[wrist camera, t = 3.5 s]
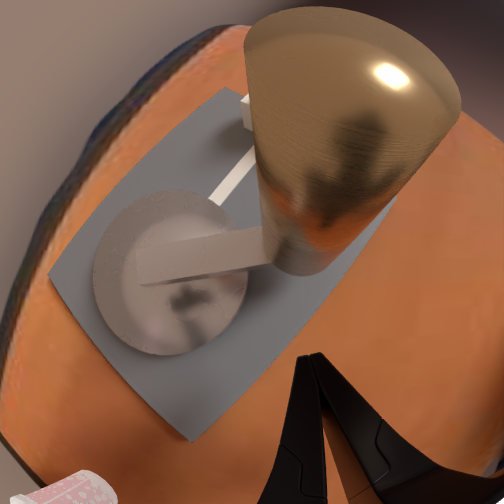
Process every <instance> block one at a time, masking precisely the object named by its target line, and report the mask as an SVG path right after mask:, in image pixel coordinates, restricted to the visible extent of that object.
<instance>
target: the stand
mask: <svg viewBox="0 0 504 504" xmlns="http://www.w3.org/2000/svg"><path fill="white" fill-rule="evenodd" d="M166 190H183V191H189V192H193V193H197V194H199V195H202V196H204V197H206V198H208V199H210V200H212V201H213V202H215V203H216V204H217V205H219V206H220V207H221V208H222V209H223V210H224V211H225V212H226V213H227V214H228V215H229V216H230V218H231V219H232V220H233V222H234V223H235V225H236V227H237V229H238V230H242V229H247V228H253V227H259V226H262V225H261V214H260V203H259V192H258V181H257V171H256V161H255V150H254V140H253V130H252V121H251V111H250V101H249V93H248V94H247V95H246V96H245V97H244V96H242V95H240V94H238V93H236V92H234V91H232V90H230V89H228V88H226V87H224V88H223V89H222V90H220V91H219V92H218V93H216V94H215V95H214V96H213V97H211V98H210V99H209V100H207V101H206V102H205V103H204V104H202V105H201V106H200V107H199V108H197V109H196V110H195V111H194V112H193V113H191V114H190V115H189V116H188V117H187V118H185V119H184V120H183V121H182V122H181V123H180V124H179V125H177V126H176V127H175V128H174V129H173V130H172V131H171V132H169V133H168V134H167V135H166V136H165V137H164V138H163V139H162V140H161V141H160V142H159V143H158V144H157V145H155V146H154V147H153V148H152V149H151V150H150V151H149V152H148V153H147V154H146V155H145V156H144V157H143V158H142V159H141V160H140V161H139V162H138V163H137V164H136V165H135V166H134V167H133V168H132V169H131V170H130V171H129V172H128V173H127V175H126V176H125V177H124V178H123V179H122V180H121V181H120V182H119V183H118V184H117V185H116V186H115V188H114V189H113V190H112V191H111V192H110V193H109V194H108V195H107V197H106V198H105V199H104V200H103V201H102V202H101V204H100V205H99V206H98V207H97V208H96V209H95V211H94V212H93V213H92V214H91V216H90V217H89V218H88V219H87V221H86V222H85V223H84V224H83V226H82V227H81V228H80V229H79V231H78V232H77V233H76V235H75V236H74V237H73V239H72V240H71V241H70V243H69V244H68V245H67V247H66V248H65V250H64V251H63V252H62V254H61V255H60V257H59V258H58V259H57V261H56V262H55V264H54V265H53V267H52V268H51V270H50V271H49V273H48V276H49V278H50V279H51V281H52V283H53V284H54V286H55V288H56V289H57V291H58V292H59V294H60V296H61V297H62V299H63V300H64V302H65V303H66V305H67V306H68V308H69V309H70V311H71V312H72V314H73V315H74V317H75V318H76V320H77V321H78V322H79V324H80V325H81V327H82V328H83V329H84V331H85V332H86V333H87V335H88V336H89V337H90V339H91V340H92V341H93V343H94V344H95V345H96V346H97V348H98V349H99V350H100V351H101V353H102V354H103V355H104V356H105V358H106V359H107V360H108V361H109V362H110V364H111V365H112V366H113V367H114V368H115V369H116V370H117V372H118V373H119V374H120V375H121V376H122V377H123V378H124V379H125V381H126V382H127V383H128V384H129V385H130V386H131V387H132V388H133V389H134V390H135V391H136V392H137V393H138V394H139V395H140V396H141V397H142V398H143V399H144V400H145V401H146V402H147V403H148V404H149V405H150V406H151V407H152V408H153V409H154V410H155V411H156V412H157V413H158V414H159V415H160V416H161V417H162V418H163V419H164V420H165V421H167V422H168V423H169V424H170V425H171V426H172V427H173V428H174V429H176V430H177V431H178V432H179V433H180V434H181V435H183V436H184V437H185V438H186V439H187V440H189V441H190V442H191V443H193V442H194V441H195V440H196V439H197V438H198V437H199V436H201V435H202V434H203V433H204V432H205V431H206V430H207V429H208V428H209V427H210V426H211V425H212V424H213V423H214V422H215V421H217V420H218V419H219V418H220V417H221V416H222V415H223V414H224V413H225V412H226V411H227V410H228V409H229V408H230V407H231V406H232V405H233V404H234V403H235V402H236V401H237V400H238V399H239V398H240V397H241V396H242V395H243V394H244V393H245V392H246V391H247V390H248V388H249V387H250V386H251V385H252V384H253V383H254V382H255V381H256V380H257V379H258V378H259V377H260V376H261V375H262V374H263V372H264V371H265V370H266V369H267V368H268V367H269V366H270V365H271V364H272V363H273V361H274V360H275V359H276V358H277V357H278V356H279V355H280V354H281V352H282V351H283V350H284V349H285V348H286V347H287V346H288V344H289V343H290V342H291V341H292V340H293V339H294V337H295V336H296V335H297V334H298V333H299V332H300V330H301V329H302V328H303V327H304V326H305V324H306V323H307V322H308V321H309V319H310V318H311V317H312V316H313V315H314V313H315V312H316V311H317V310H318V308H319V307H320V306H321V305H322V303H323V302H324V301H325V299H326V298H327V297H328V296H329V294H330V293H331V292H332V290H333V289H334V288H335V286H336V285H337V284H338V283H339V281H340V280H341V279H342V277H343V276H344V275H345V273H346V272H347V270H348V269H349V268H350V266H351V265H352V264H353V262H354V261H355V259H356V258H357V257H358V255H359V254H360V252H361V251H362V250H363V248H364V247H365V245H366V244H367V242H368V241H369V239H370V238H371V237H372V235H373V234H374V232H375V231H376V229H377V228H378V226H379V225H380V223H381V222H382V220H383V219H384V217H385V216H386V214H387V212H388V211H389V209H390V208H391V206H392V205H393V203H394V201H395V200H396V198H397V196H395V197H394V198H393V199H392V200H391V201H390V202H389V203H388V205H387V206H386V207H385V208H384V209H383V210H382V211H381V212H380V213H379V214H378V216H377V217H376V218H375V219H374V220H373V221H372V222H371V223H370V224H369V225H368V226H367V227H366V228H365V229H364V231H363V232H362V233H361V234H360V235H359V236H358V237H357V238H356V239H355V240H354V241H353V242H352V243H351V244H350V245H349V246H348V247H347V248H346V249H345V250H344V251H343V252H342V253H341V254H340V255H339V256H338V257H337V258H336V259H335V260H334V261H333V262H332V263H331V264H330V265H329V266H328V267H327V268H326V269H325V270H323V271H322V272H320V273H318V274H315V275H311V276H305V277H300V276H293V275H290V274H287V273H285V272H283V271H281V270H280V269H278V268H277V267H271V268H265V269H259V270H254V271H249V283H248V289H247V294H246V297H245V300H244V303H243V305H242V307H241V309H240V312H239V313H238V315H237V317H236V318H235V320H234V321H233V323H232V324H231V325H230V326H229V327H228V329H227V330H226V331H225V332H224V333H222V334H221V335H220V336H219V337H218V338H216V339H215V340H213V341H212V342H210V343H209V344H207V345H205V346H203V347H201V348H198V349H195V350H192V351H189V352H185V353H182V354H176V355H156V354H150V353H147V352H143V351H140V350H138V349H136V348H134V347H132V346H130V345H129V344H127V343H126V342H124V341H123V340H122V339H120V338H119V337H118V336H117V335H116V334H115V333H114V332H113V331H112V330H111V328H110V327H109V326H108V324H107V323H106V321H105V320H104V318H103V316H102V314H101V312H100V310H99V308H98V305H97V302H96V298H95V294H94V288H93V267H94V260H95V256H96V252H97V249H98V246H99V243H100V241H101V239H102V237H103V235H104V233H105V231H106V230H107V228H108V227H109V225H110V224H111V222H112V221H113V220H114V219H115V217H116V216H117V215H118V214H119V213H120V212H121V211H122V210H124V209H125V208H126V207H127V206H129V205H130V204H131V203H133V202H135V201H136V200H138V199H140V198H142V197H144V196H147V195H149V194H152V193H156V192H160V191H166Z"/></svg>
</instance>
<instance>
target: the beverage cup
mask: <svg viewBox="0 0 504 504" xmlns="http://www.w3.org/2000/svg"><path fill="white" fill-rule="evenodd" d="M117 503H118V500H117V495H116V494H115V492H114V490H113V489H112V487H111V486H110V485H109V484H108V483H107V482H106V481H105V480H104V479H102V478H101V477H100V476H98V475H97V474H95V473H93V472H91V471H88V470H81V471H79V472H77V473H75V474H73V475H70V476H68V477H66V478H64V479H62V480H60V481H58V482H56V483H54V484H51V485H49V486H47V487H44V488H42V489H40V490H37V491H35V492H33V493H30V494H28V495H25V496H24V495H22V494H19V495H17V496H13V497H11V498H10V504H117Z"/></svg>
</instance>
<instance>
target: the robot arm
mask: <svg viewBox="0 0 504 504" xmlns="http://www.w3.org/2000/svg"><path fill="white" fill-rule="evenodd" d="M323 428H324V431H325V434H326V437H327V440H328V443H329V446H330V449H331V452H332V455H333V458H334V461H335V464H336V467H337V470H338V473H339V476H340V479H341V482H342V485H343V488H344V491H345V494H346V497H347V500H349V501H348V503H349V504H504V468H503V469H501V470H500V471H498V472H496V473H494V474H493V475H491V476H489V477H487V478H484V477H480V476H475V475H471V474H467V473H463V472H459V471H455V470H451V469H448V468H445V467H443V466H440V465H439V464H437V463H435V462H434V461H432V460H431V459H429V458H428V457H427V456H425V455H424V454H423V453H421V452H420V451H419V450H418V449H416V448H415V447H414V446H412V445H411V444H410V443H408V442H407V441H406V440H405V439H404V438H402V437H401V436H400V435H399V434H398V433H397V432H396V431H395V430H394V429H393V428H392V427H391V426H390V425H389V424H388V423H387V422H386V421H385V420H384V419H382V417H381V416H380V415H379V414H378V413H377V412H376V411H375V410H374V409H373V407H372V406H371V405H370V404H369V403H368V402H367V401H366V400H365V399H364V398H363V397H362V396H361V395H360V394H359V393H358V392H357V390H356V389H355V388H354V387H353V386H352V385H351V384H350V383H349V382H348V381H347V380H346V379H345V378H344V376H343V375H342V374H341V373H340V372H339V371H338V370H337V369H336V368H335V367H334V366H333V365H332V363H331V362H330V361H329V360H328V359H327V358H326V357H325V356H324V355H323V354H322V353H321V352H318V353H313V354H310V355H304V356H299V357H297V360H296V366H295V372H294V377H293V382H292V387H291V393H290V398H289V403H288V407H287V412H286V417H285V421H284V426H283V430H282V435H281V439H280V444H279V447H278V451H277V455H276V459H275V462H274V466H273V469H272V471H271V474H270V476H269V479H268V481H267V483H266V486H265V488H264V490H263V492H262V494H261V496H260V499H259V501H258V503H257V504H328V500H327V479H326V462H325V448H324V436H323Z"/></svg>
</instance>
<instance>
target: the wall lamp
mask: <svg viewBox="0 0 504 504" xmlns="http://www.w3.org/2000/svg"><path fill="white" fill-rule="evenodd" d="M244 55H245V64H246V73H247V83H248V92H249V101H250V111H251V121H252V130H253V140H254V150H255V161H256V171H257V181H258V192H259V203H260V214H261V225H262V226H259V227H253V228H247V229H242V230H238V229H237V227H236V225H235V223H234V222H233V220H232V219H231V218H230V216H229V215H228V214H227V213H226V212H225V211H224V210H223V209H222V208H221V207H220V206H219V205H217V204H216V203H215V202H213V201H212V200H210V199H208V198H206V197H204V196H202V195H199V194H197V193H193V192H189V191H183V190H166V191H160V192H156V193H152V194H149V195H147V196H144V197H142V198H140V199H138V200H136V201H135V202H133V203H131V204H130V205H129V206H127V207H126V208H125V209H124V210H122V211H121V212H120V213H119V214H118V215H117V216H116V217H115V219H114V220H113V221H112V222H111V224H110V225H109V227H108V228H107V230H106V231H105V233H104V235H103V237H102V239H101V241H100V243H99V246H98V249H97V252H96V256H95V260H94V267H93V288H94V294H95V298H96V302H97V305H98V308H99V310H100V312H101V314H102V316H103V318H104V320H105V321H106V323H107V324H108V326H109V327H110V328H111V330H112V331H113V332H114V333H115V334H116V335H117V336H118V337H119V338H120V339H122V340H123V341H124V342H126V343H127V344H129V345H130V346H132V347H134V348H136V349H138V350H140V351H143V352H147V353H150V354H156V355H176V354H182V353H185V352H189V351H192V350H195V349H198V348H201V347H203V346H205V345H207V344H209V343H210V342H212V341H213V340H215V339H216V338H218V337H219V336H220V335H221V334H222V333H224V332H225V331H226V330H227V329H228V327H229V326H230V325H231V324H232V323H233V321H234V320H235V318H236V317H237V315H238V313H239V312H240V309H241V307H242V305H243V303H244V300H245V297H246V294H247V289H248V283H249V271H254V270H259V269H265V268H271V267H277V268H278V269H280V270H281V271H283V272H285V273H287V274H290V275H293V276H300V277H305V276H311V275H315V274H318V273H320V272H322V271H323V270H325V269H326V268H327V267H328V266H329V265H330V264H331V263H332V262H333V261H334V260H335V259H336V258H337V257H338V256H339V255H340V254H341V253H342V252H343V251H344V250H345V249H346V248H347V247H348V246H349V245H350V244H351V243H352V242H353V241H354V240H355V239H356V238H357V237H358V236H359V235H360V234H361V233H362V232H363V231H364V229H365V228H366V227H367V226H368V225H369V224H370V223H371V222H372V221H373V220H374V219H375V218H376V217H377V216H378V214H379V213H380V212H381V211H382V210H383V209H384V208H385V207H386V206H387V205H388V203H389V202H390V201H391V200H392V199H393V198H394V197H395V196H396V195H397V193H398V192H399V191H400V190H401V189H402V188H403V187H404V185H405V184H406V183H407V182H408V181H409V180H410V178H411V177H412V176H413V175H414V174H415V173H416V171H417V170H418V169H419V168H420V167H421V165H422V164H423V163H424V162H425V161H426V159H427V158H428V157H429V156H430V155H431V153H432V152H433V151H434V150H435V148H436V147H437V146H438V145H439V143H440V142H441V141H442V140H443V138H444V137H445V136H446V135H447V133H448V132H449V131H450V129H451V128H452V127H453V125H454V124H455V123H456V121H457V120H458V118H459V115H460V112H461V98H460V94H459V90H458V87H457V85H456V83H455V81H454V79H453V77H452V76H451V74H450V72H449V71H448V70H447V68H446V67H445V66H444V64H443V63H442V62H441V61H440V60H439V59H438V58H437V57H436V55H435V54H433V53H432V52H431V51H430V50H429V49H428V48H427V47H426V46H424V45H423V44H422V43H421V42H419V41H418V40H417V39H415V38H414V37H412V36H411V35H409V34H408V33H406V32H404V31H403V30H401V29H399V28H397V27H395V26H393V25H391V24H389V23H387V22H384V21H382V20H380V19H377V18H375V17H372V16H369V15H366V14H362V13H359V12H355V11H350V10H346V9H340V8H331V7H299V8H293V9H288V10H283V11H280V12H277V13H274V14H271V15H269V16H267V17H265V18H263V19H261V20H260V21H258V22H257V23H256V24H255V25H254V26H253V27H251V29H250V30H249V31H248V33H247V35H246V37H245V40H244Z"/></svg>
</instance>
